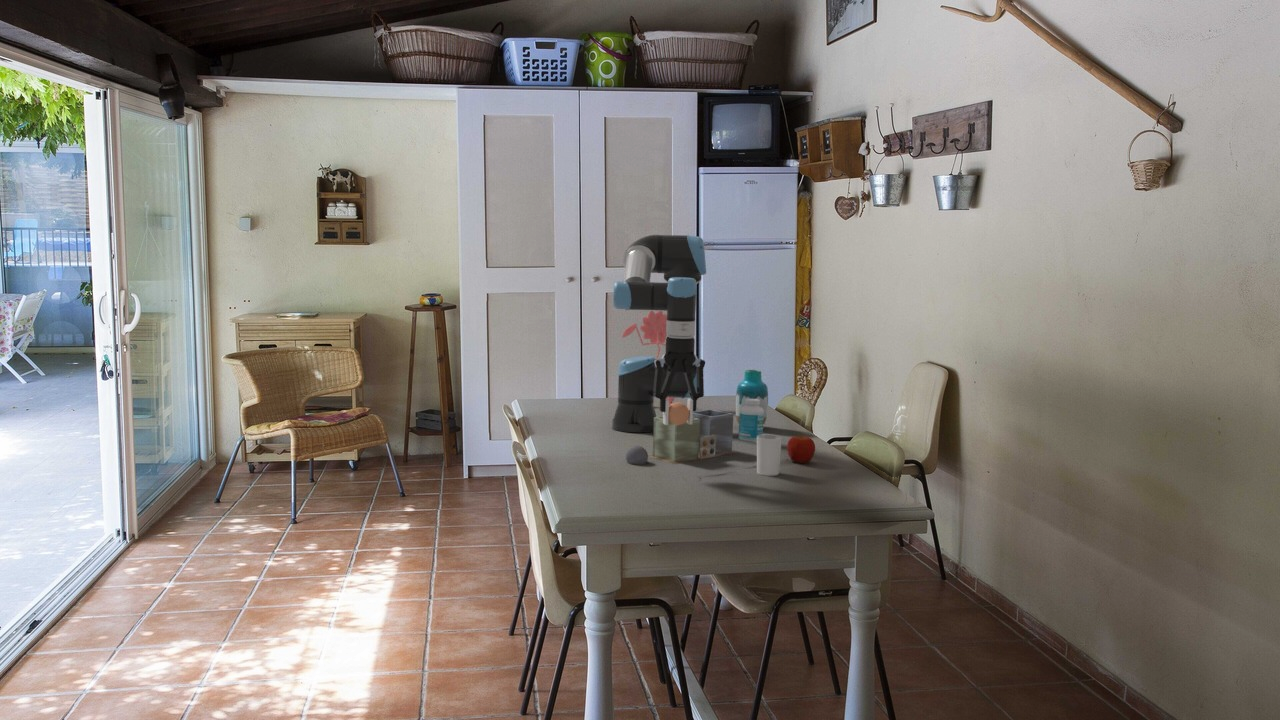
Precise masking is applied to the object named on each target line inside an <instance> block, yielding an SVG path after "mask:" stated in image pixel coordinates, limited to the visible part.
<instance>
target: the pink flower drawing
mask: <svg viewBox="0 0 1280 720" xmlns="http://www.w3.org/2000/svg"><path fill="white" fill-rule="evenodd" d="M647 315H648V316H647V317H646V316H644V317H643V318H642V323H643V324H642V325H641V326H640V327H639V329H640V331H641V332H642V333H644V334H643V336H642V338H643V340H649V341H650V342H646V343H644V342H643V340H642V338H641V334H640V332H639V329H638V326H637V324H636V323H634V324H631V325H629V326H628V327H627V328H626V329H625V330H624V331H623V332H622V335H621V338H622V339H623V338H626V337H628V336H630V335H631V334H632V333H633V332H634V331H635V329H636V333H637V335H638V338H639V341H640V343H641V345H642V346H647V345H655V344H656V345H657V348H658V351H657V353H656V354H657V355H656V357H655V359H657V360H658V358H659V355H660V351H661V347H660V345H661V346H664V347H666V338H667V334H666V324H667V313H664V314H663V310H657V312H655V311H654V310H649V312H648V314H647ZM666 399H667V400H669V406H670V405H671V404H673V402H674V400H675V398H668V397H667V398H666Z"/></svg>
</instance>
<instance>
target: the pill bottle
mask: <svg viewBox="0 0 1280 720" xmlns="http://www.w3.org/2000/svg"><path fill="white" fill-rule="evenodd" d="M744 403H745V406H743V407H741V409H740V416H739V424H738V440H741V441H745V442H750V443H756V444H757V435H761V434H764V425H763V422H764V410H763V408H761V407H759V405H760V400H758V399H745V402H744Z"/></svg>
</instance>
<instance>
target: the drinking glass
mask: <svg viewBox="0 0 1280 720" xmlns="http://www.w3.org/2000/svg"><path fill="white" fill-rule="evenodd" d="M782 440H783V437H782V436H781V435H779V434H771V433H763V434H761V435H757V443H756V473H757V474H758V475H760V476H767V477H769V476H770V477H772V476H778V475H779V473H780V462H781V451H782Z"/></svg>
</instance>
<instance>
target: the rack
mask: <svg viewBox="0 0 1280 720" xmlns="http://www.w3.org/2000/svg"><path fill="white" fill-rule="evenodd" d="M733 429H734V413H732V412H731V413H730V412H725V411H720V410H715V409H710V408H709V409H704V410H696V411H693V420H692V424H691V425H690V424H688V423H687V421H686V422H685V423H684V424H681V425H674V424H672V423H671V422H670V421H669V420H668V425H665V424H663V415H661V416H656V417H654V431H653V435H652V436H653V437H652V438H653V440H652V441H653V442H652V454H651V455H649V454H648V459H649V458H651V459H654V460H656V461H657V460H659V461H662V462H666V463H668V464H669V463H670V464H672V465H673V464H674V465H679V464H685V463H689V462H695V461H700V460H704V459H709V458H715V457H720V456H724V455H726V456H727V455H731V454H735V453H736V454H737V453H739V450H738V451H737V450H733V434H734V431H733Z"/></svg>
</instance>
